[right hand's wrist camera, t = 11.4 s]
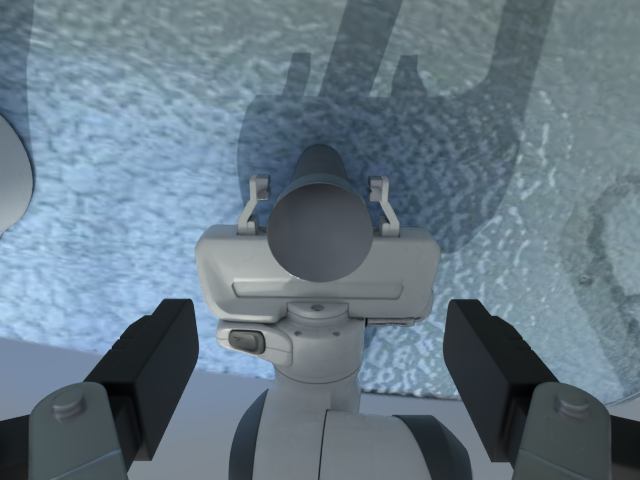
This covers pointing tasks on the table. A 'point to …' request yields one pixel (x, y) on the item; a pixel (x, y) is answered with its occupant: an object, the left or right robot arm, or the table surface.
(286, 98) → the table surface
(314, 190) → the lid
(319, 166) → the dark grey cylinder
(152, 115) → the table surface
